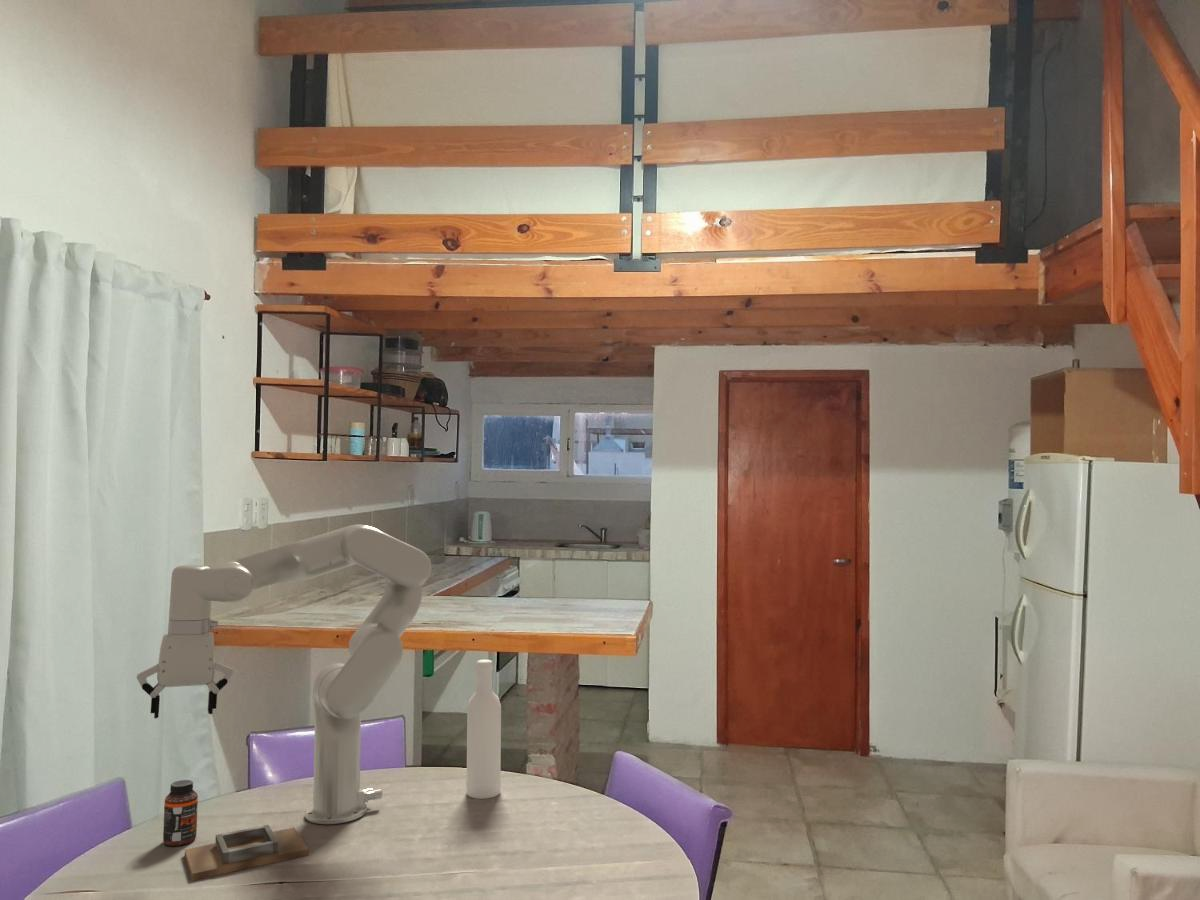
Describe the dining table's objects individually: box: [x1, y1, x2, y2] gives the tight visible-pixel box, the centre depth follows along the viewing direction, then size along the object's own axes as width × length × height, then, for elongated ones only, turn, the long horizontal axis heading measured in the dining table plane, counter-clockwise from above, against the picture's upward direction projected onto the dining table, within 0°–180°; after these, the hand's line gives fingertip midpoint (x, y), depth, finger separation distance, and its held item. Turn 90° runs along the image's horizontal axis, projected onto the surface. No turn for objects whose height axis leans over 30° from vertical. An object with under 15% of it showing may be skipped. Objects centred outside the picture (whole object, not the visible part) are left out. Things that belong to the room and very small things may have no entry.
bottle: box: [465, 659, 502, 800], centre depth 195 cm, size 8×8×30 cm
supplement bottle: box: [162, 779, 199, 847], centre depth 168 cm, size 6×6×11 cm
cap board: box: [184, 824, 309, 881], centre depth 161 cm, size 20×12×3 cm, turn 122°
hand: (183, 714), depth 168 cm, fingers open, 9 cm apart
